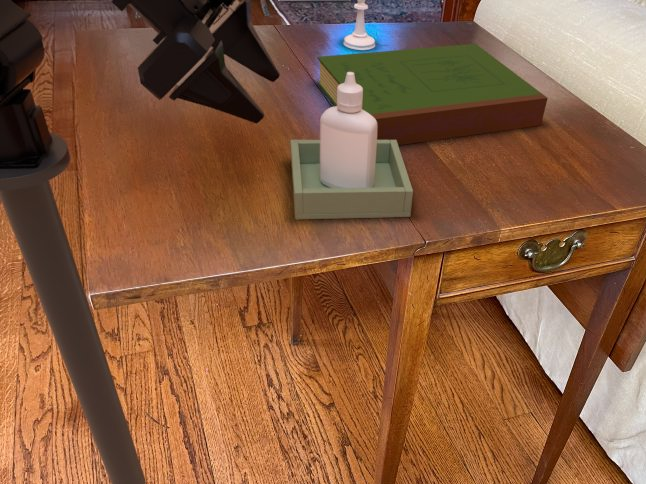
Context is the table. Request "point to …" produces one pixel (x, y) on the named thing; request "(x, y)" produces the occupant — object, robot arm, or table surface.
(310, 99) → the table surface
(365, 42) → the chess piece
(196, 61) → the robot arm
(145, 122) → the table surface
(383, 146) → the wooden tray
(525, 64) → the table surface
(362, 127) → the eye dropper bottle
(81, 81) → the table surface
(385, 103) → the hardcover book
